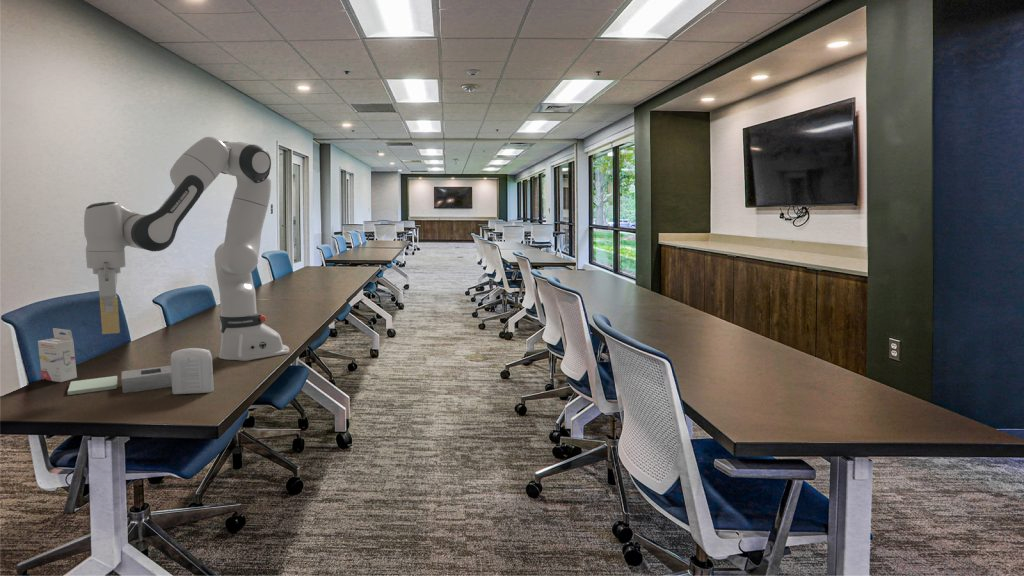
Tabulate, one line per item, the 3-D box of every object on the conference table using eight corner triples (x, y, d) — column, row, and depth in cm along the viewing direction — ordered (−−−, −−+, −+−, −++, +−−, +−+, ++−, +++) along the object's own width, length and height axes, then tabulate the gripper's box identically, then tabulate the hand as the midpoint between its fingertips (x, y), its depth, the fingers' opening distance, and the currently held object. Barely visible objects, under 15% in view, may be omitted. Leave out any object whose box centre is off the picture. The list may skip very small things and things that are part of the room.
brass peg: (119, 330, 168) (117, 295, 167) (119, 332, 164) (117, 297, 163) (102, 331, 166) (100, 296, 164) (102, 334, 162) (99, 298, 161)
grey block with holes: (194, 375, 178) (193, 362, 178) (196, 382, 171) (195, 369, 170) (123, 385, 169) (121, 371, 168) (122, 393, 161) (121, 378, 161)
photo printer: (215, 388, 165) (213, 345, 164) (211, 393, 161) (208, 349, 160) (175, 391, 163) (172, 347, 161) (170, 396, 159) (166, 351, 157)
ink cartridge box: (40, 379, 174) (35, 330, 172) (58, 375, 178) (53, 327, 177) (60, 382, 171) (55, 332, 169) (78, 378, 176) (73, 329, 174)
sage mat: (117, 379, 175) (117, 375, 174) (116, 388, 165) (116, 385, 165) (71, 384, 169) (70, 381, 169) (67, 395, 160) (67, 391, 159)
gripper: (120, 263, 156) (123, 315, 157) (119, 258, 173) (122, 305, 174) (90, 264, 152) (94, 317, 154) (93, 258, 169) (96, 306, 171)
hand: (109, 310), depth 164 cm, fingers closed on brass peg, 4 cm apart
